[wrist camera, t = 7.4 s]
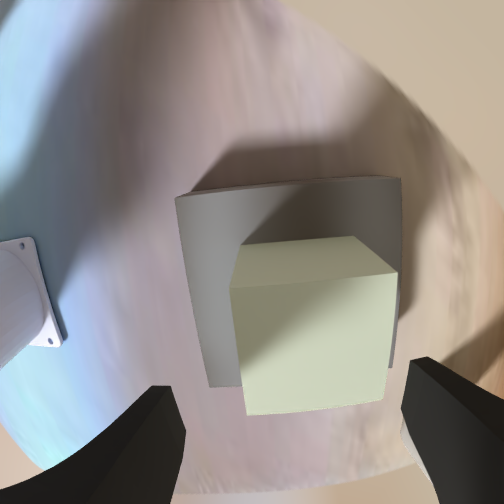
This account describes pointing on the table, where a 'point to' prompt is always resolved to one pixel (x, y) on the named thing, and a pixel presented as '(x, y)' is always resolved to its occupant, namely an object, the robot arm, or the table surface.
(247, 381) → the sage block
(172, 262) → the table surface
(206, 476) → the table surface
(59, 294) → the table surface
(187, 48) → the table surface
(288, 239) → the gray plinth
